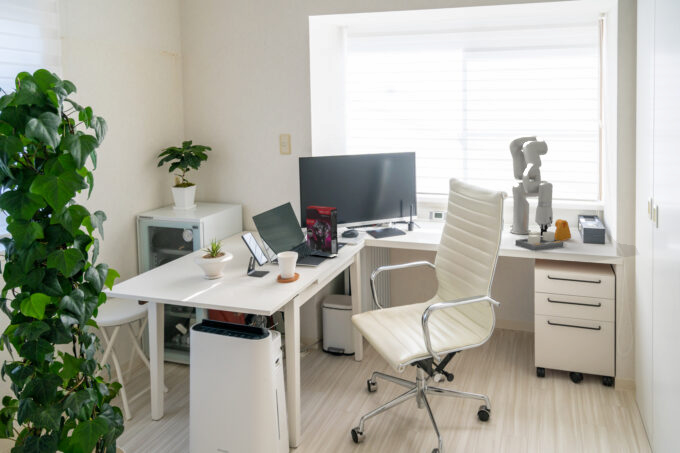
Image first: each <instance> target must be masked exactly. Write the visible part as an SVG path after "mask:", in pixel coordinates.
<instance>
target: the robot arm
mask: <svg viewBox="0 0 680 453" xmlns="http://www.w3.org/2000/svg"><path fill="white" fill-rule="evenodd" d="M546 142H547V141H545V140H544V139H543V138H542V137H540V136H538V135H518V136H514V137H512V138H511V139H510V140H509V151H510V154H511V157H512V166H513V168H512V170H513V177H514V179H515V180H516V181H519V182H516V183H515V184H513V185H512V188H511V189H512V190H511V191H512V197H513V200H512V201H513V207H512V208H513V209H512V211H513V214H512V224H510V228H511V229H510V230H509V232H510V234H515V235H529V232H532V230H530V228H529V227H530V224H529V223H530V203H529V201H528V200H527V198H537V206H536V209H535V210H536V211H535V218H534V220H535V223H536V224H537V225H538V226H539V228H540V232H541V237H543V232H548V229H549V228H550V227H552V224H553V221H554V220H553V219H554V216H553V215H554V213H553V207H552V206H553V185H554V184H552V183H551V182H548V181H547V180H542V179H541V170H540V167H542V160H541V156H544V155H547V153H548V150H549V149H548V144H547V143H546ZM520 181H522V182H520Z"/></svg>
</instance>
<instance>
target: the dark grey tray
mask: <svg viewBox="0 0 680 453" xmlns="http://www.w3.org/2000/svg"><path fill="white" fill-rule="evenodd" d="M564 244H565V242H564V240H563V241H559V240H556V239H554V241H551V242H549V241H546V240H543V236H541V237H540V244H534V245H532V244H529V243H528V238H521V239H515V246H517V247H521V248H524V249H527V250H530V251H533V252H534V251H535V252H536V251H543V250H550V249H558V247H559V248H564V247H565V246H564Z"/></svg>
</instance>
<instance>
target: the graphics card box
mask: <svg viewBox="0 0 680 453" xmlns="http://www.w3.org/2000/svg"><path fill="white" fill-rule="evenodd" d="M305 219H306V220H305V221H306V224H305V225H306V249H307V248H308V249H312V250H316V251H320V252H325V253H329V254H338V255H339V244H338V238H339V237H338V208H337V207H330V206H322V205H321V206H320V205H309V206H307V207H305Z"/></svg>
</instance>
